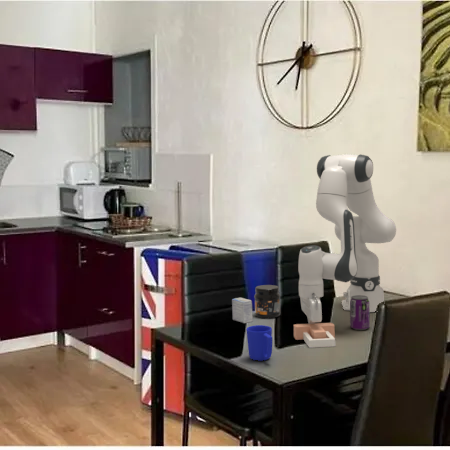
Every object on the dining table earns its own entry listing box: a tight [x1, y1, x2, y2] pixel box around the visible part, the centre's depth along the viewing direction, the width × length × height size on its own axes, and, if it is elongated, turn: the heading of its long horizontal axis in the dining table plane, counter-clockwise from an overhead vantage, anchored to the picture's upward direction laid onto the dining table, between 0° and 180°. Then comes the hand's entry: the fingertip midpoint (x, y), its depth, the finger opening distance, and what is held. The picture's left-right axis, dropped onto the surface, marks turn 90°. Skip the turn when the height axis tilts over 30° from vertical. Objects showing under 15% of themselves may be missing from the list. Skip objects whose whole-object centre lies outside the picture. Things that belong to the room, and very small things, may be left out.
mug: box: [246, 324, 273, 362], centre depth 209 cm, size 8×12×10 cm
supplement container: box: [253, 284, 281, 319], centre depth 267 cm, size 10×10×12 cm
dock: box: [302, 331, 336, 349], centre depth 227 cm, size 10×9×2 cm
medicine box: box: [231, 297, 253, 324], centre depth 260 cm, size 8×4×9 cm, turn 34°
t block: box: [293, 322, 336, 341], centre depth 230 cm, size 12×14×4 cm
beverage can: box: [349, 295, 371, 331], centre depth 243 cm, size 7×7×12 cm
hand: (311, 328), depth 237 cm, fingers closed
